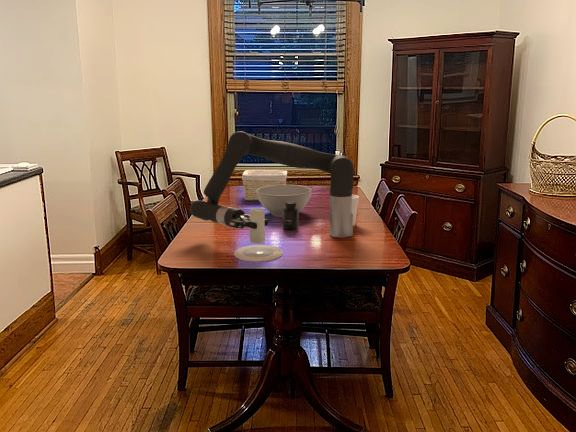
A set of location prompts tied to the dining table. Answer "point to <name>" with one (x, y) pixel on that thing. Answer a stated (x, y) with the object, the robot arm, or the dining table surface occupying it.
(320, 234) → the dining table surface
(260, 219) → the white tapered cylinder
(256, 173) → the storage basket
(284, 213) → the supplement bottle
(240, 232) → the dining table surface
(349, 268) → the dining table surface
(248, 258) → the dish
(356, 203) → the foam cup
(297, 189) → the decorative bowl
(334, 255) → the dining table surface
